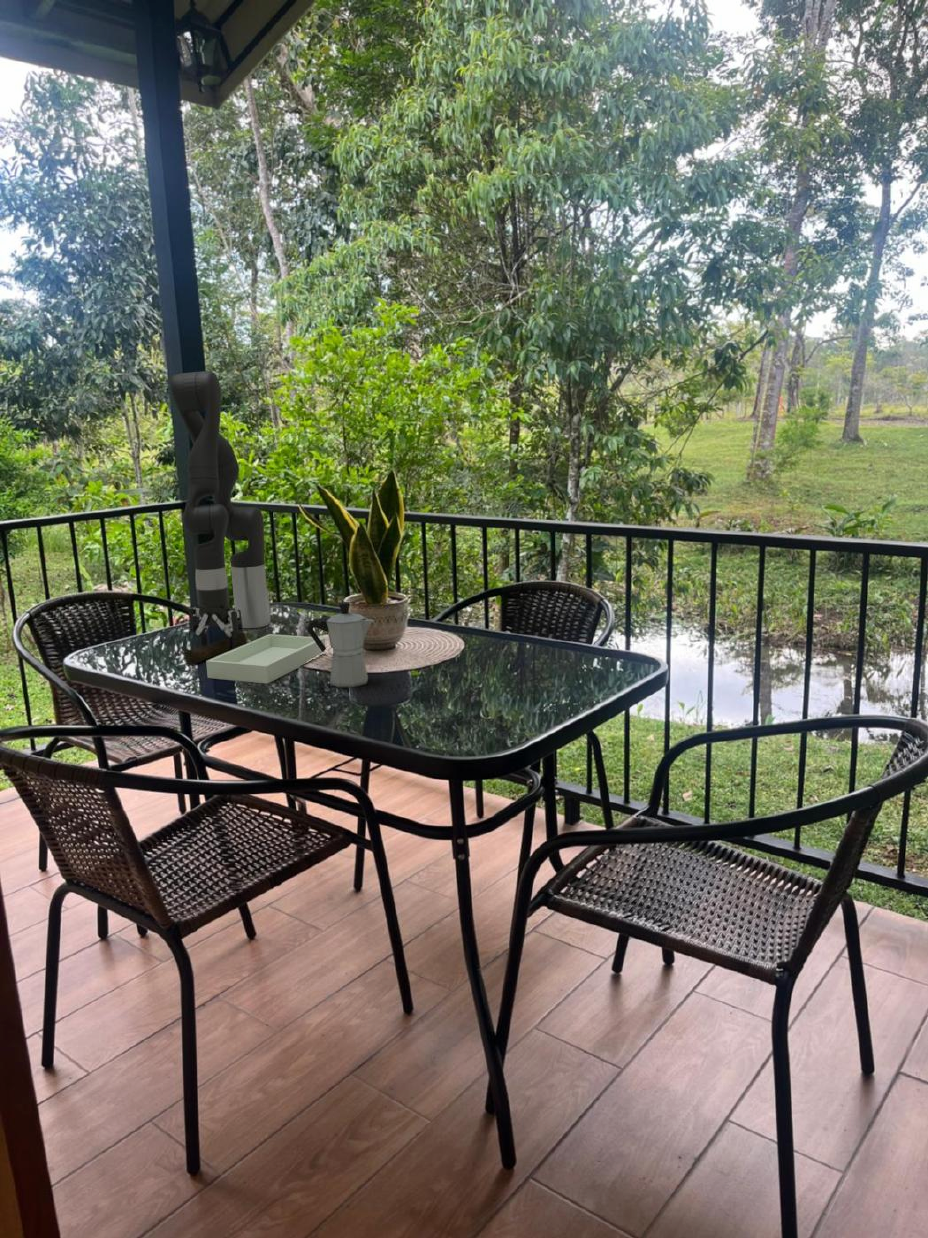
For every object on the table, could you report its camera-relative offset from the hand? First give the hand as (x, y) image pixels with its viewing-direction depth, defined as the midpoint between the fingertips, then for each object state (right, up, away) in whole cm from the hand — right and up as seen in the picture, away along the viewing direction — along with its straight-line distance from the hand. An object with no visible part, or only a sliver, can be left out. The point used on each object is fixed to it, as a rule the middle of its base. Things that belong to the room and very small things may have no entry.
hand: (218, 649), depth 232 cm
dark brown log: (0, -2, +1) cm, 2 cm away
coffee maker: (+35, -6, -26) cm, 44 cm away
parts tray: (+15, -3, -11) cm, 19 cm away
